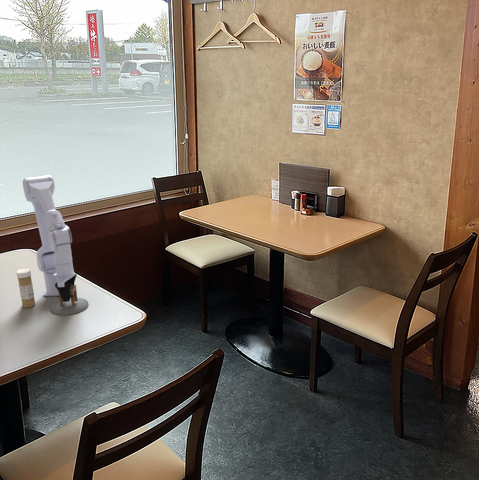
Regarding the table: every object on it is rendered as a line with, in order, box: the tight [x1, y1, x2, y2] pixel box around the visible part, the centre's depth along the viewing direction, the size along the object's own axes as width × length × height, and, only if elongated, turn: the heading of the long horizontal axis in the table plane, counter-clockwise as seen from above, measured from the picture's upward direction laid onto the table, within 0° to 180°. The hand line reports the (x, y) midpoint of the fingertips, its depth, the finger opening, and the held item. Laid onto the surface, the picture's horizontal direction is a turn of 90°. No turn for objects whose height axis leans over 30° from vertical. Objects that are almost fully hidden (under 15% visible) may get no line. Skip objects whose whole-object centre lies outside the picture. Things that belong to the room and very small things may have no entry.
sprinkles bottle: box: [16, 268, 36, 308], centre depth 181 cm, size 5×5×14 cm
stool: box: [57, 284, 78, 307], centre depth 180 cm, size 5×5×6 cm
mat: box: [49, 297, 89, 316], centre depth 181 cm, size 13×13×1 cm
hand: (68, 297), depth 180 cm, fingers closed on stool, 5 cm apart
